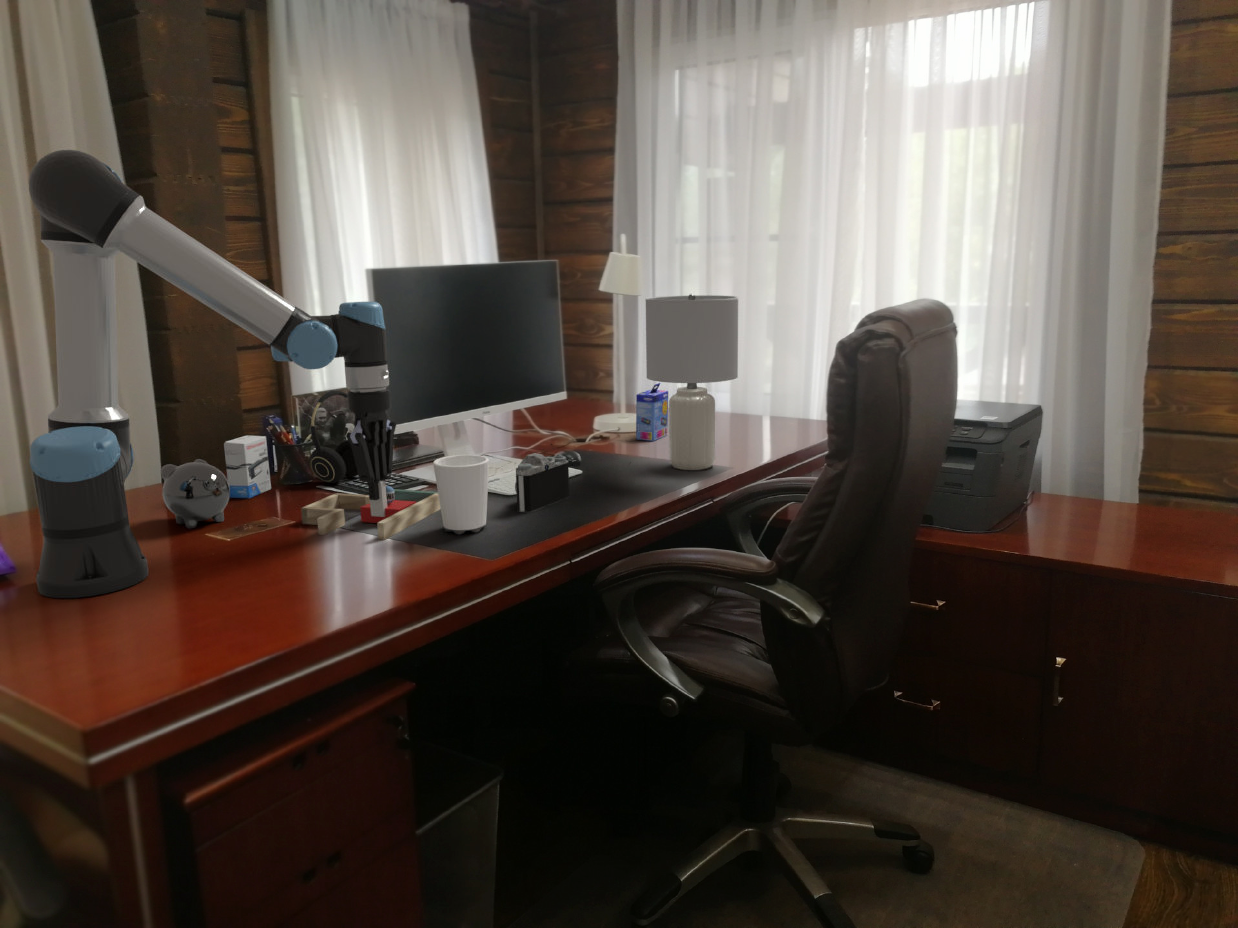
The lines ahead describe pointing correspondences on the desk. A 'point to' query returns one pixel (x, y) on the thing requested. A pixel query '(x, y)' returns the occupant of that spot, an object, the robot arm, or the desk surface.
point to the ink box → (247, 466)
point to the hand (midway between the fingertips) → (379, 515)
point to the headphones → (331, 453)
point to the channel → (347, 506)
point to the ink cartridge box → (651, 414)
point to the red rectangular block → (391, 509)
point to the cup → (462, 491)
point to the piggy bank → (195, 492)
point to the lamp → (692, 367)
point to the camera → (541, 481)
